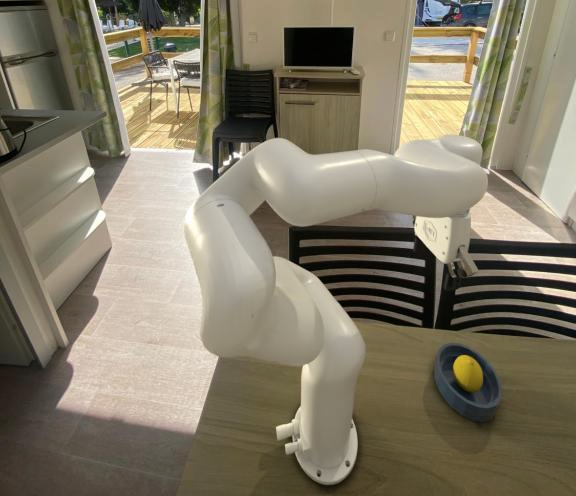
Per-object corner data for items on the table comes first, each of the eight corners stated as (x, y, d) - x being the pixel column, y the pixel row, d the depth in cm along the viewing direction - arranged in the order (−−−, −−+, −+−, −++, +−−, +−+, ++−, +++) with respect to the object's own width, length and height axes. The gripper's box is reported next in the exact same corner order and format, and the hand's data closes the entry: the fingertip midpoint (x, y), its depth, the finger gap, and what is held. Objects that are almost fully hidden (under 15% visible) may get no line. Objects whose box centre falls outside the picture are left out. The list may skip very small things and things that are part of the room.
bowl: (461, 431, 59) (465, 415, 57) (422, 364, 70) (425, 349, 68) (511, 414, 61) (517, 398, 60) (465, 352, 72) (469, 337, 71)
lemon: (483, 404, 62) (491, 378, 60) (454, 397, 63) (461, 372, 61) (473, 374, 67) (480, 350, 65) (447, 369, 68) (452, 344, 66)
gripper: (404, 177, 64) (395, 242, 69) (466, 232, 48) (448, 310, 53) (434, 173, 65) (423, 237, 71) (504, 225, 49) (483, 302, 55)
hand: (434, 268), depth 62 cm, fingers open, 9 cm apart
